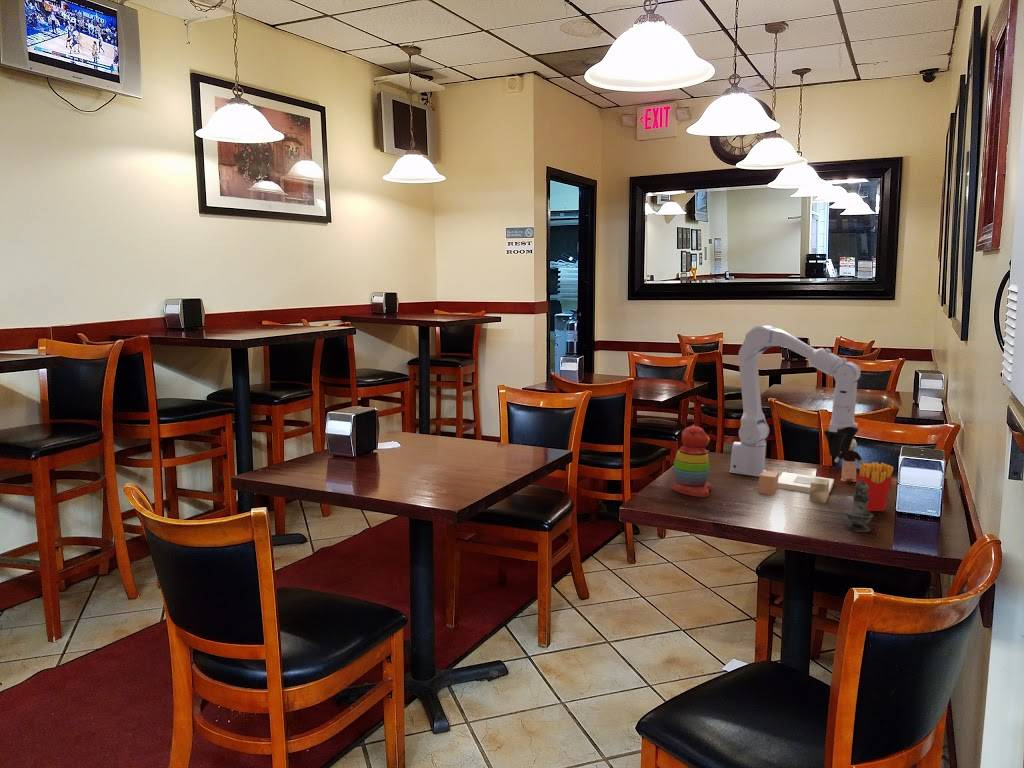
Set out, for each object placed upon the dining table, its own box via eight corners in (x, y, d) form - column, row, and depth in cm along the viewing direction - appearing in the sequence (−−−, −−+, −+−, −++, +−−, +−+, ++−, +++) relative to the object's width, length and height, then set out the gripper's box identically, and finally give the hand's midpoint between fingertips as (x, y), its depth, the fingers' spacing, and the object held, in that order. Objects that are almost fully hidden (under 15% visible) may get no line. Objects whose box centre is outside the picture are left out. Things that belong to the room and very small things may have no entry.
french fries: (859, 511, 195) (864, 465, 193) (851, 506, 199) (856, 461, 197) (891, 511, 196) (896, 465, 194) (883, 507, 199) (888, 462, 198)
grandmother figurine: (858, 480, 226) (862, 438, 224) (862, 483, 222) (867, 440, 221) (831, 478, 227) (835, 436, 225) (835, 482, 223) (839, 439, 221)
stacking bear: (708, 498, 202) (713, 431, 199) (669, 493, 205) (673, 427, 203) (712, 488, 212) (717, 424, 209) (675, 483, 215) (679, 421, 213)
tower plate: (774, 487, 215) (775, 482, 215) (782, 476, 227) (783, 471, 227) (828, 495, 208) (829, 490, 208) (833, 484, 221) (834, 478, 220)
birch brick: (809, 500, 203) (810, 482, 202) (811, 495, 208) (813, 477, 208) (825, 503, 201) (827, 484, 201) (827, 497, 207) (829, 479, 206)
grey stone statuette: (839, 523, 184) (844, 475, 182) (863, 524, 185) (868, 475, 183) (852, 532, 178) (857, 481, 177) (876, 532, 179) (881, 482, 177)
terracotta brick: (758, 492, 209) (759, 475, 208) (762, 487, 214) (763, 470, 214) (773, 495, 207) (775, 477, 207) (777, 490, 213) (778, 472, 212)
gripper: (849, 411, 205) (844, 460, 207) (867, 405, 216) (862, 452, 218) (823, 407, 210) (818, 455, 212) (841, 402, 220) (837, 448, 222)
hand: (839, 454), depth 215 cm, fingers open, 7 cm apart
